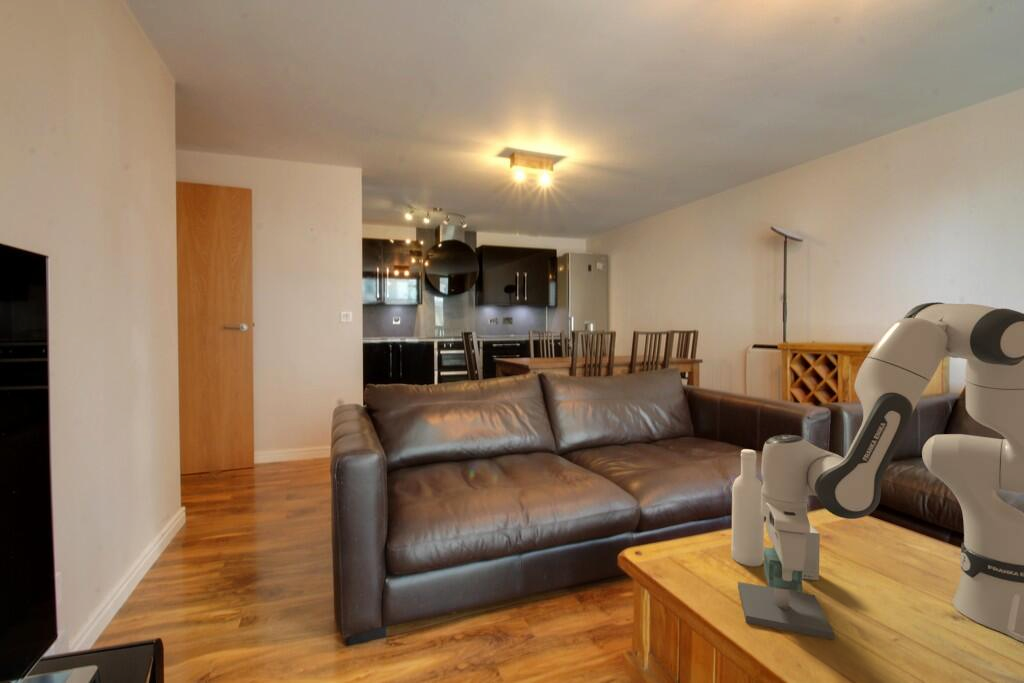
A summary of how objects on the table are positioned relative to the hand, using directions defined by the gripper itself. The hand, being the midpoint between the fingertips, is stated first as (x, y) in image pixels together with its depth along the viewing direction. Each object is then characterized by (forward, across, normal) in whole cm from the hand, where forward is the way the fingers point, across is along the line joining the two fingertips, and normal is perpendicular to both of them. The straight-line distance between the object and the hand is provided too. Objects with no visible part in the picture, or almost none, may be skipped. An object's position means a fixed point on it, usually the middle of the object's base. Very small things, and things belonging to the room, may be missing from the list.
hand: (782, 570), depth 101 cm
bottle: (+10, -23, -4) cm, 25 cm away
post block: (+9, 0, 0) cm, 9 cm away
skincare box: (+10, -20, +9) cm, 24 cm away
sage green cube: (+3, 0, 0) cm, 3 cm away
